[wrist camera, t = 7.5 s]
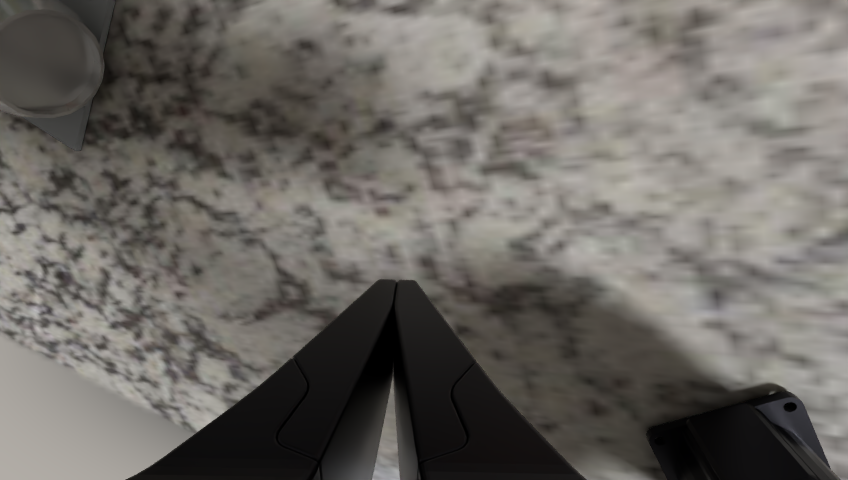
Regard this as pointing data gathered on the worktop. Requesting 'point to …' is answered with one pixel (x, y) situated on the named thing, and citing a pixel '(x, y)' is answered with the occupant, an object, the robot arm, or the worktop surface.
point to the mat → (96, 11)
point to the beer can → (46, 59)
